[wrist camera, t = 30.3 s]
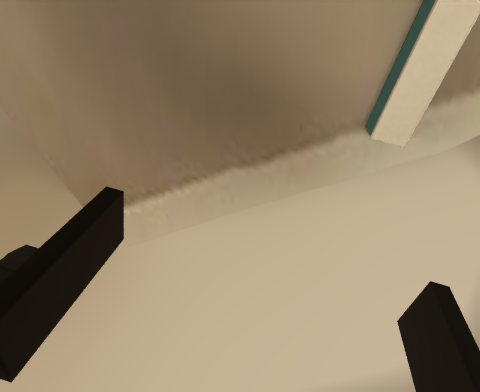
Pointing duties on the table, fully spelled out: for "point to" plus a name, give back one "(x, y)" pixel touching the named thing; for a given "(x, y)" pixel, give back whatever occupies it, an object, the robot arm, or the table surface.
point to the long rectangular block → (421, 68)
